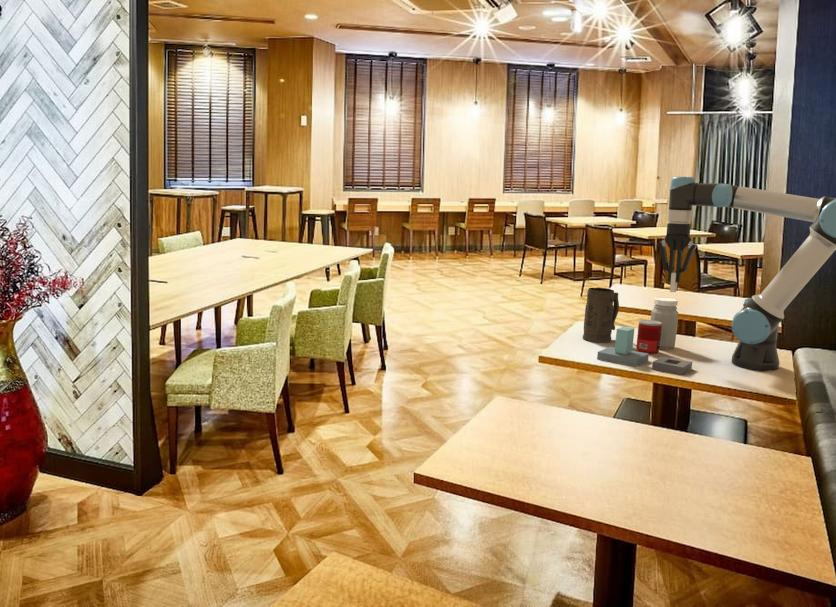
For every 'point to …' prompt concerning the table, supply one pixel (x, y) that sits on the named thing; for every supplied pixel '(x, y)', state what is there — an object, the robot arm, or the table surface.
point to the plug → (624, 340)
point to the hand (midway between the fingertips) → (673, 291)
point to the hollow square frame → (672, 365)
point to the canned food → (649, 336)
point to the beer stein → (600, 314)
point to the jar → (666, 320)
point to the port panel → (623, 357)
